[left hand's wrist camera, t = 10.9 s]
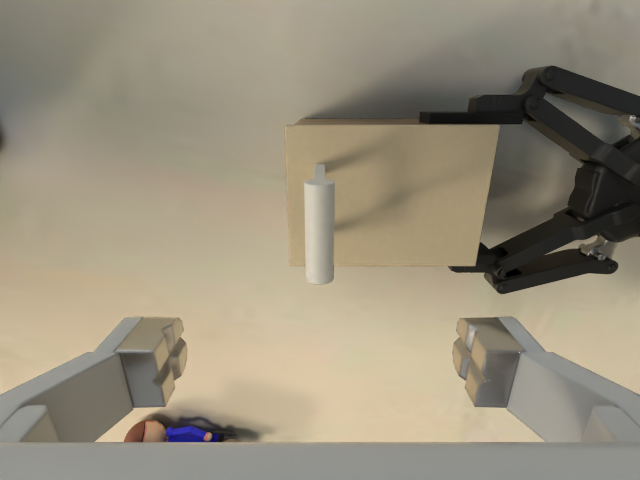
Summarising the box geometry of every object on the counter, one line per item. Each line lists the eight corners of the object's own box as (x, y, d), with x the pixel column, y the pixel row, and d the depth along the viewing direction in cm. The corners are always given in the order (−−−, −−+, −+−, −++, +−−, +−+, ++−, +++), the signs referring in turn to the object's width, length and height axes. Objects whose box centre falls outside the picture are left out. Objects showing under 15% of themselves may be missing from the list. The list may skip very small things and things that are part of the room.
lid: (290, 260, 27) (279, 321, 20) (286, 124, 24) (269, 135, 16) (470, 260, 27) (527, 321, 20) (493, 124, 24) (575, 135, 16)
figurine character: (252, 415, 47) (133, 404, 44) (247, 470, 40) (107, 462, 37) (243, 449, 50) (130, 440, 47) (237, 507, 43) (105, 501, 40)
